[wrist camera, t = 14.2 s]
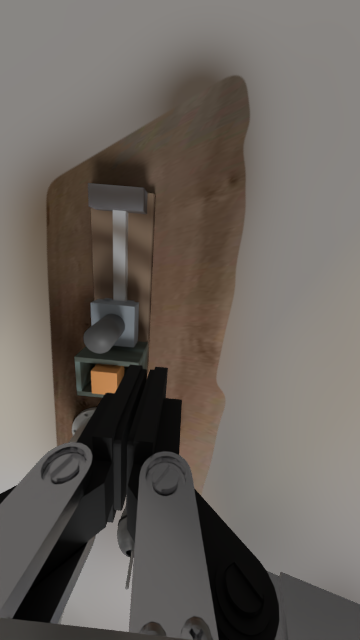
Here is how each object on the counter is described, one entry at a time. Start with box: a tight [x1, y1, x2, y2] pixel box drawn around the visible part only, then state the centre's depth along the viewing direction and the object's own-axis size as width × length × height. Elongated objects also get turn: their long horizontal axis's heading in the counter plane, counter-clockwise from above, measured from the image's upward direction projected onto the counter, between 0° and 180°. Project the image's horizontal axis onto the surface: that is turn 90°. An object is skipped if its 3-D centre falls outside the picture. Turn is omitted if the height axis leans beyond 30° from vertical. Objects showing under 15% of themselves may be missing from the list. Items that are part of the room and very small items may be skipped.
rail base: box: [74, 183, 156, 398], centre depth 36 cm, size 32×10×10 cm, turn 175°
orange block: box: [91, 364, 124, 395], centre depth 36 cm, size 4×4×4 cm
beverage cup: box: [117, 507, 135, 589], centre depth 44 cm, size 7×7×20 cm
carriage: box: [83, 298, 139, 354], centre depth 34 cm, size 7×7×10 cm
